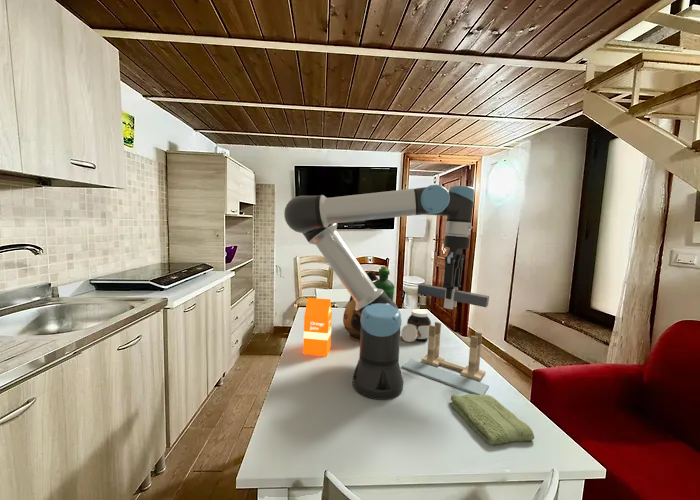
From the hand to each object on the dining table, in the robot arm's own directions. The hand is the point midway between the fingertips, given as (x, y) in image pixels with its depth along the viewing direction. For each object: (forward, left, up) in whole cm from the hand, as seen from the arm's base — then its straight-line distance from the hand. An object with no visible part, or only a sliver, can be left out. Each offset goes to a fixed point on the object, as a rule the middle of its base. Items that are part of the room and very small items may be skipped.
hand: (449, 307), depth 99 cm
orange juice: (-18, +42, -22) cm, 51 cm away
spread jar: (+19, +20, -22) cm, 36 cm away
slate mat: (-4, -1, -22) cm, 22 cm away
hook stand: (+4, -1, -22) cm, 22 cm away
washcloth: (-17, -18, -23) cm, 34 cm away
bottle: (+25, +41, -22) cm, 53 cm away
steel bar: (0, 0, +3) cm, 3 cm away
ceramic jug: (+4, +39, -22) cm, 45 cm away
